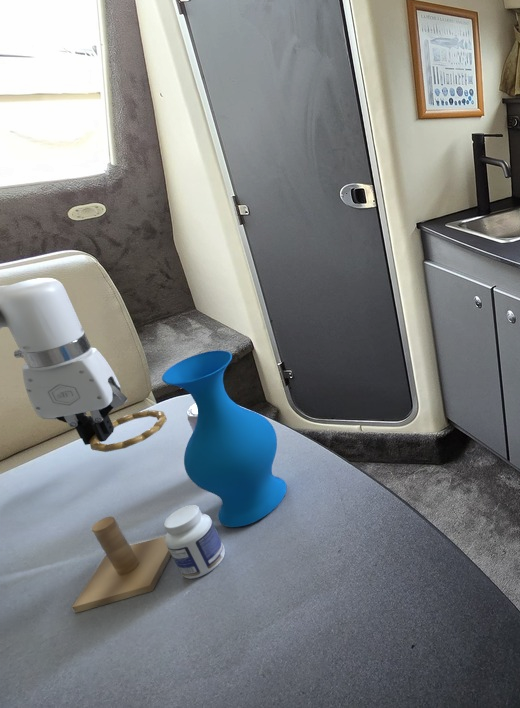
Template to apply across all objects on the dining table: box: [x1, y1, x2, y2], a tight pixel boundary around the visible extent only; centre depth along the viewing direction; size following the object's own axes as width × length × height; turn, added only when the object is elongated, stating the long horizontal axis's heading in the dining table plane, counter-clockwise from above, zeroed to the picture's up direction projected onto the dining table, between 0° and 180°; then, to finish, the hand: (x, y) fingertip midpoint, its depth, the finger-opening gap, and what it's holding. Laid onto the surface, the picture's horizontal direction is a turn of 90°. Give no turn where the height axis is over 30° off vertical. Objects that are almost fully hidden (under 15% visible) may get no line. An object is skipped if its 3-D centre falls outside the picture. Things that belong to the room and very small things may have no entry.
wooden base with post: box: [71, 516, 172, 614], centre depth 72 cm, size 9×9×10 cm
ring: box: [89, 409, 168, 453], centre depth 91 cm, size 10×10×1 cm
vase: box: [161, 350, 288, 528], centre depth 79 cm, size 12×13×28 cm
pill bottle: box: [163, 504, 226, 580], centre depth 73 cm, size 5×5×10 cm
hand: (99, 437), depth 90 cm, fingers closed on ring, 1 cm apart
